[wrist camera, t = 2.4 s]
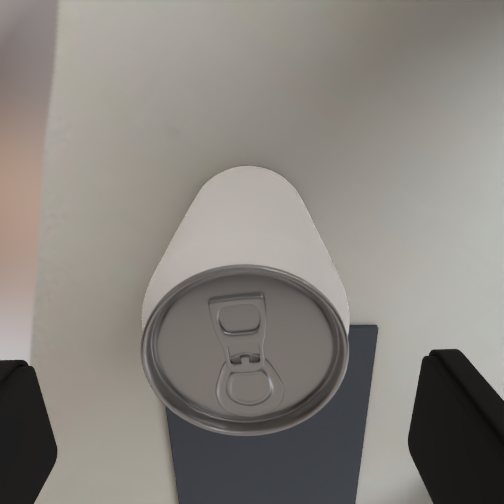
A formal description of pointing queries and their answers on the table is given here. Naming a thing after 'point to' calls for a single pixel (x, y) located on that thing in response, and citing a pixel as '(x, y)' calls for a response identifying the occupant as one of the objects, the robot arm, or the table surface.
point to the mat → (283, 448)
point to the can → (245, 310)
